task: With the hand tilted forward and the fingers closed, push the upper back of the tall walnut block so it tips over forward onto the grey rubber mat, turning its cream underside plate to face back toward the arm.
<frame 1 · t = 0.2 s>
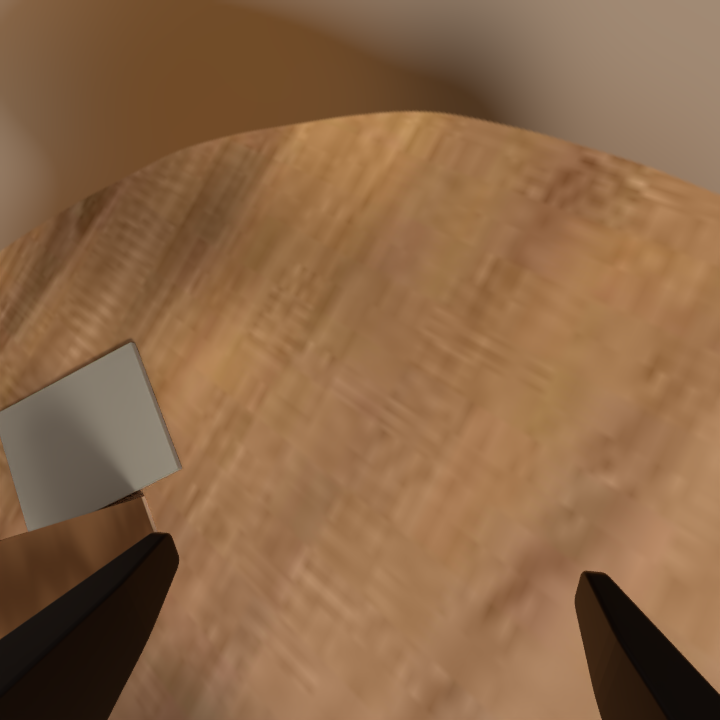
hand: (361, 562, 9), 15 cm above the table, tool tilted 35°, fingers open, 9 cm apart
walnut block: (124, 550, 25), on the table
mat: (86, 440, 27), on the table
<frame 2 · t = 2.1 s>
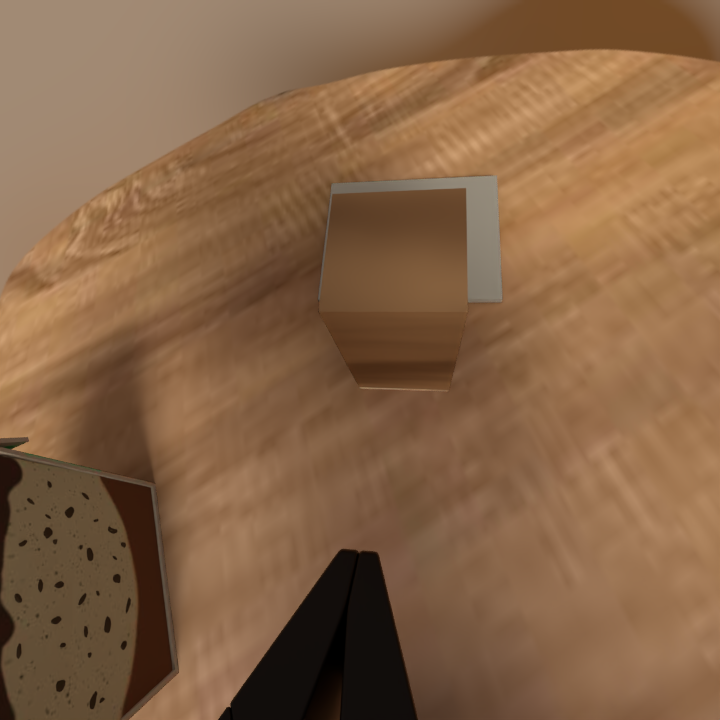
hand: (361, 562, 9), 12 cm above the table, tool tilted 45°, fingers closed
walnut block: (405, 348, 24), on the table
mat: (409, 239, 26), on the table
food container: (115, 588, 22), on the table
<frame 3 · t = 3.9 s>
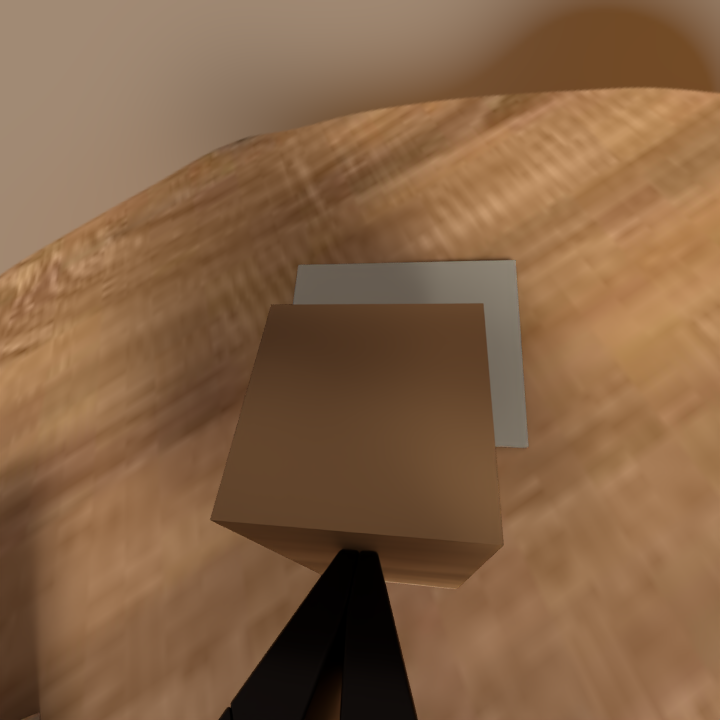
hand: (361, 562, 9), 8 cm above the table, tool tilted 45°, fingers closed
walnut block: (392, 512, 16), point 1 cm above the table, tilted 13°
mat: (399, 347, 19), on the table
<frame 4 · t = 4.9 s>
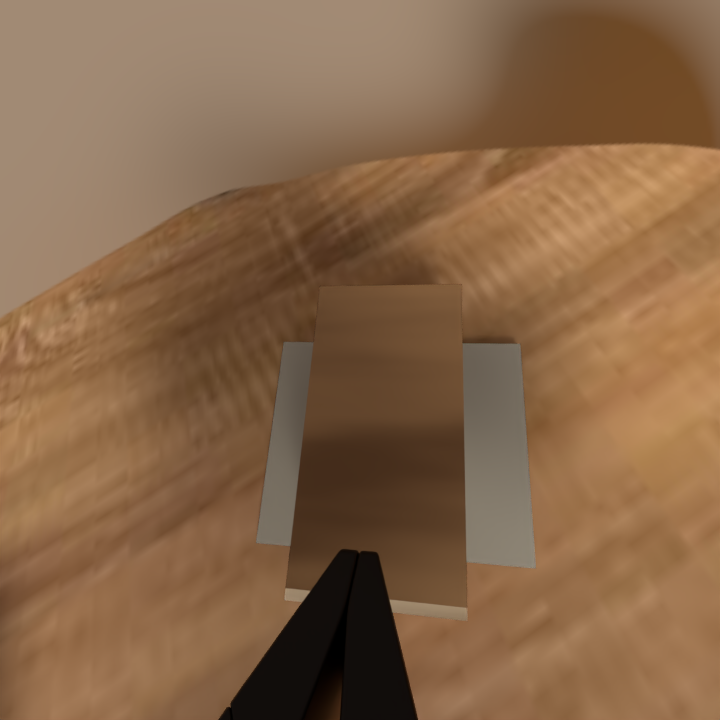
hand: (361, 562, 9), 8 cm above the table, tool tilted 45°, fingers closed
walnut block: (381, 591, 13), point 3 cm above the table, tilted 90°, touching mat
mat: (393, 441, 18), on the table
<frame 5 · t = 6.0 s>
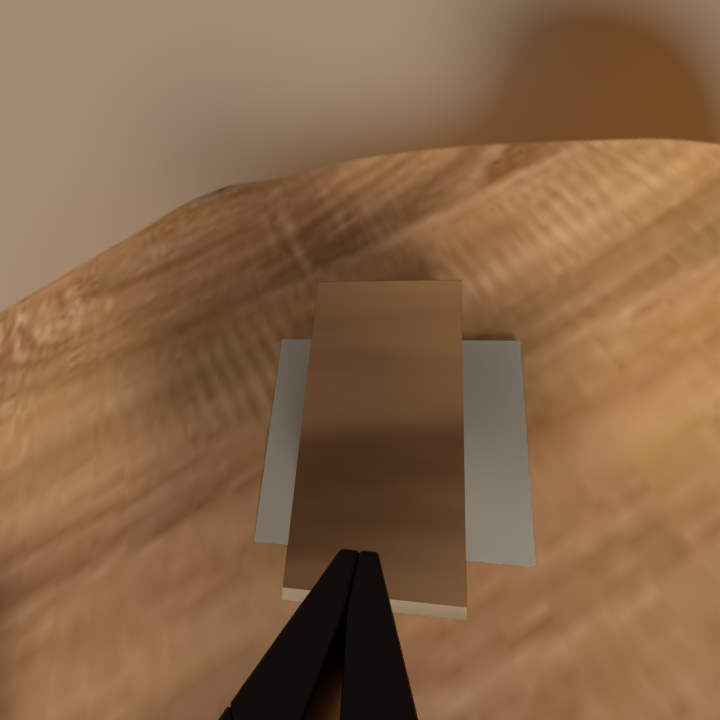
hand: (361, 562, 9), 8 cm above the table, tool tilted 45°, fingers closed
walnut block: (379, 590, 13), point 3 cm above the table, tilted 90°, touching mat
mat: (392, 439, 18), on the table
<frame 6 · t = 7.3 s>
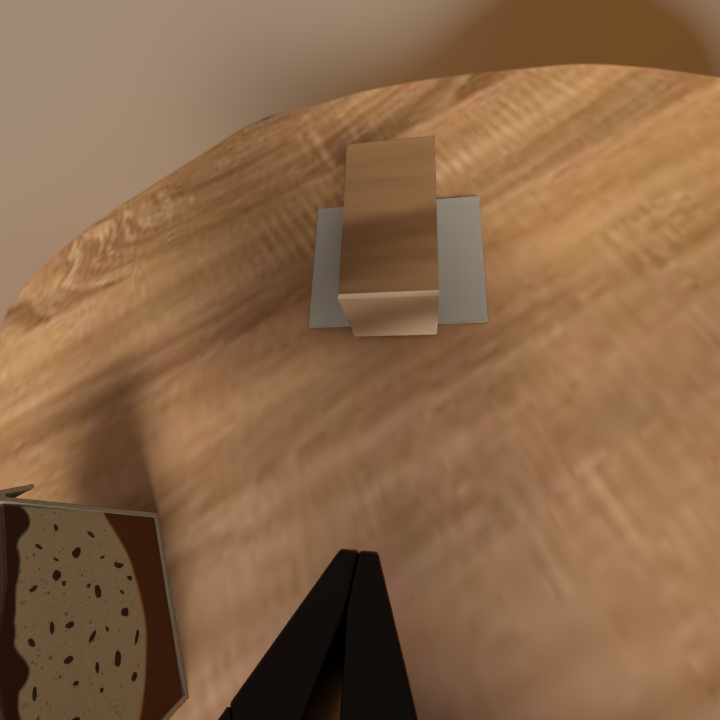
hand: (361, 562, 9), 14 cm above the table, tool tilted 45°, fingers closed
walnut block: (391, 318, 22), point 3 cm above the table, tilted 90°, touching mat
mat: (396, 262, 27), on the table
food container: (123, 617, 22), on the table
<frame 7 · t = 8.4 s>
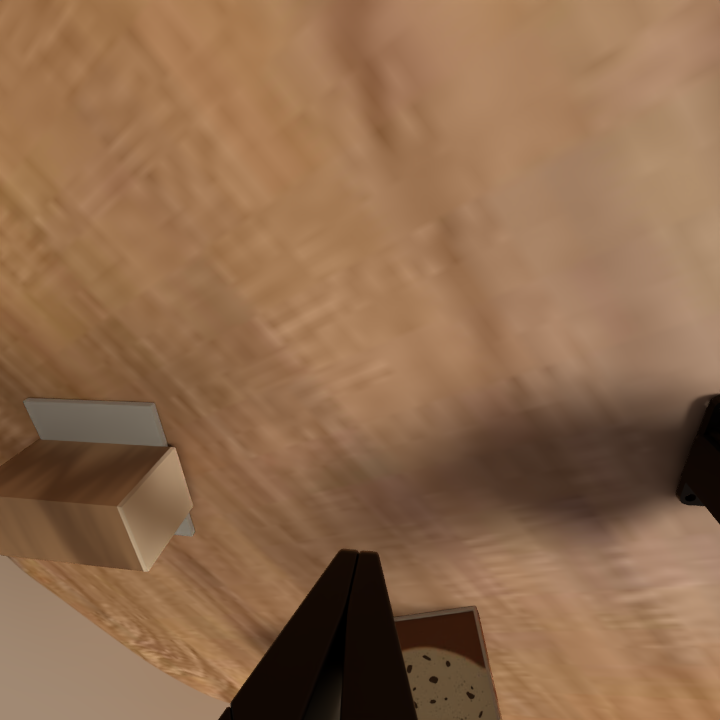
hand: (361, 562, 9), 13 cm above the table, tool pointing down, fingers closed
walnut block: (162, 506, 24), point 3 cm above the table, tilted 90°, touching mat
mat: (116, 468, 28), on the table
food container: (428, 637, 31), on the table
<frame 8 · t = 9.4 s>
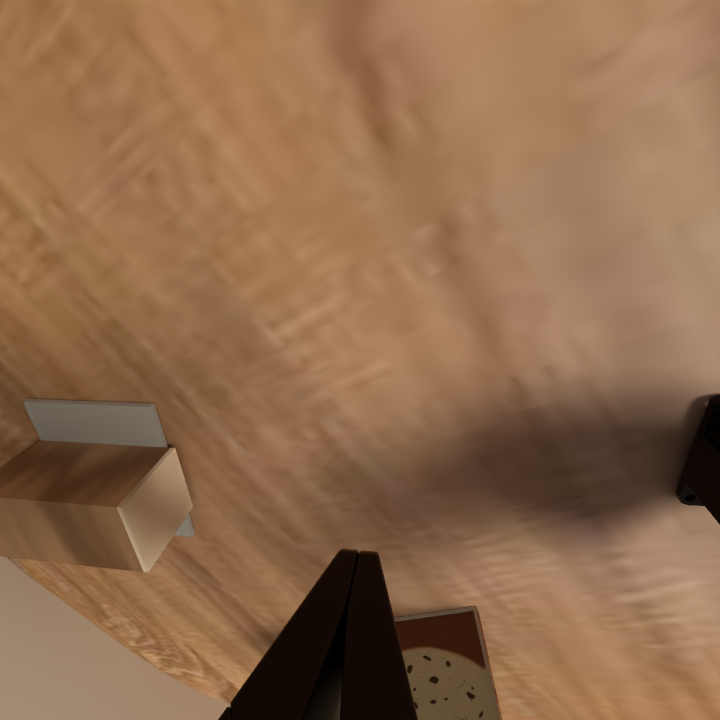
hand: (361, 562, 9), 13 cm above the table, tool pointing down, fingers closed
walnut block: (162, 507, 24), point 3 cm above the table, tilted 90°, touching mat
mat: (116, 469, 28), on the table
food container: (428, 637, 31), on the table
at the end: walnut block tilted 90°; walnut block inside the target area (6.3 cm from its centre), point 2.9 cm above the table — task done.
